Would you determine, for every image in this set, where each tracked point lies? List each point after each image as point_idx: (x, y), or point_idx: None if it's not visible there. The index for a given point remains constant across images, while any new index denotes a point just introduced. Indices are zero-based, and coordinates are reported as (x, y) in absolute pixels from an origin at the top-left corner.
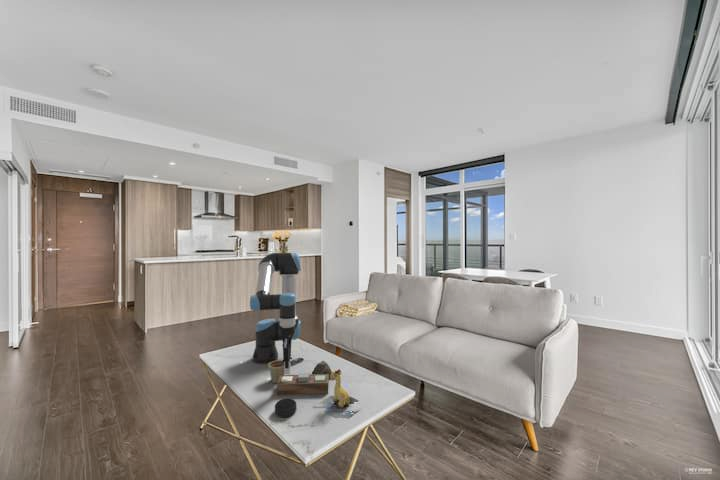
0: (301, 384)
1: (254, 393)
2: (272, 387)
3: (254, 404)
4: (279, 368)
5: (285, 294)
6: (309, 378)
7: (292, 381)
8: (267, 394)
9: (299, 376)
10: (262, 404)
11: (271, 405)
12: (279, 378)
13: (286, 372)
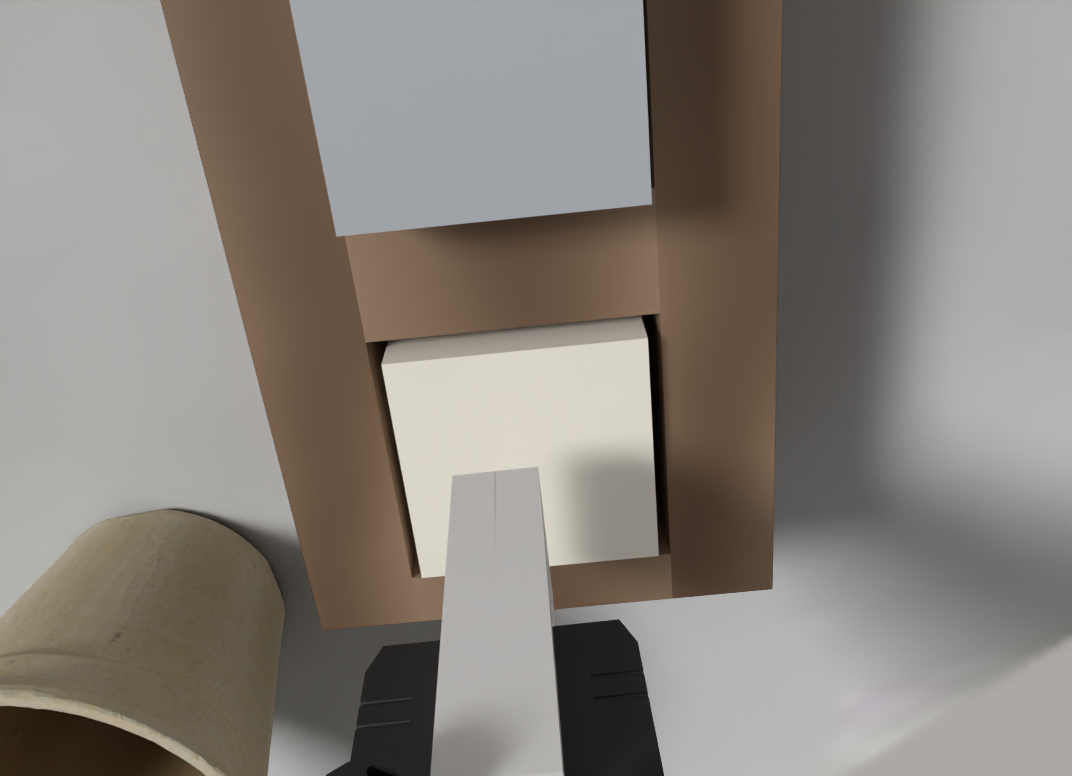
0: (776, 38)
1: None
2: None
3: (975, 676)
4: (229, 763)
5: None
6: None
7: (636, 311)
8: (691, 604)
9: (590, 171)
10: (997, 583)
11: (1057, 456)
12: None
13: (549, 574)
